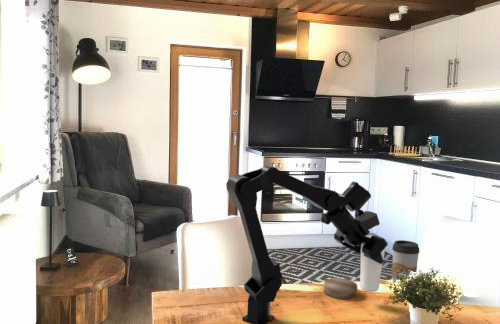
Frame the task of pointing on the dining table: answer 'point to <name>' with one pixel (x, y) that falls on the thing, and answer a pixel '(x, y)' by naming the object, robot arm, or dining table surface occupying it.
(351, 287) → the walnut stand
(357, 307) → the dining table surface
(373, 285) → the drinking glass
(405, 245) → the coffee cup
